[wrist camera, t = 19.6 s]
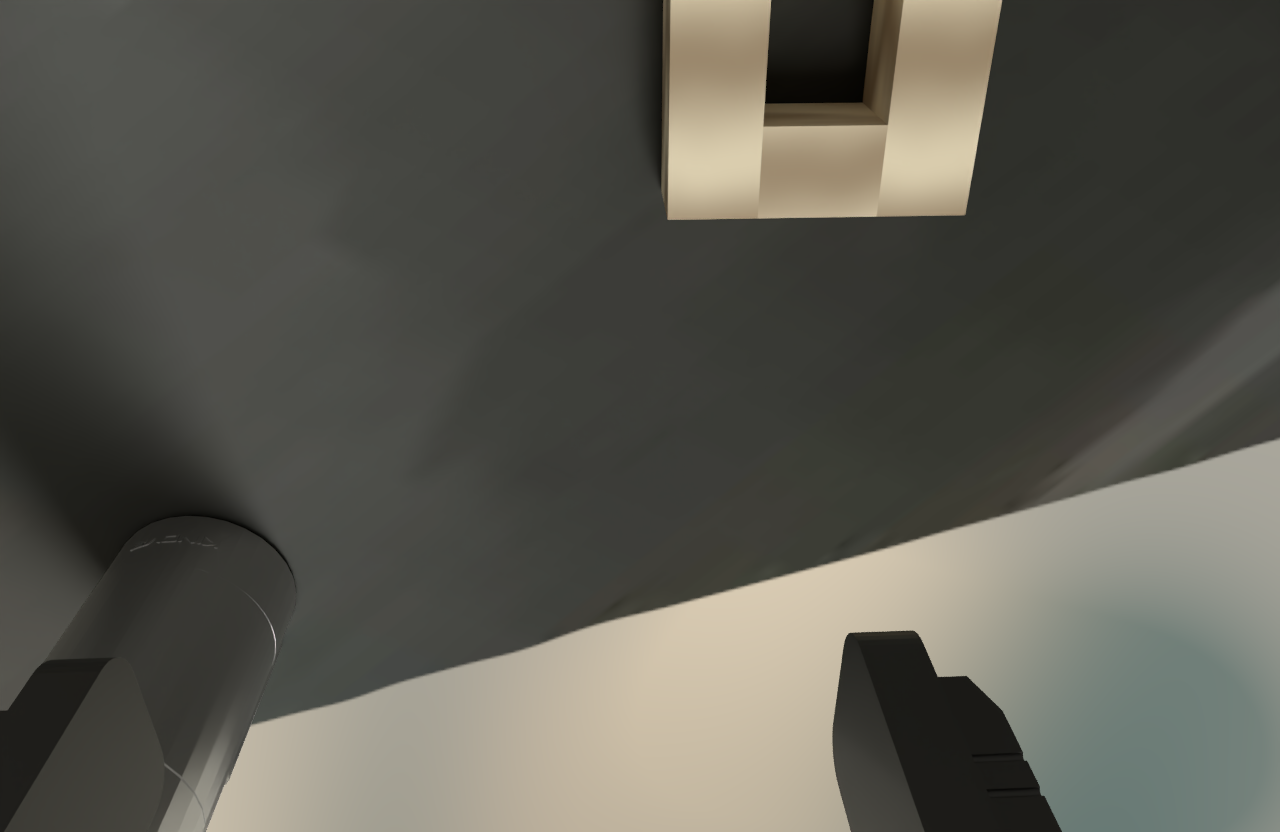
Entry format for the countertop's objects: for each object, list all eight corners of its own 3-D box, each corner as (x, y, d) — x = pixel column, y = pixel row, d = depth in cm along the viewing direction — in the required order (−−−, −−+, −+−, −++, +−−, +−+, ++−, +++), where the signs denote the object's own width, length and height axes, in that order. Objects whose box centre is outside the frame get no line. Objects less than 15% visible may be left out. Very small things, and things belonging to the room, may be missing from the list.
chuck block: (934, 186, 42) (964, 215, 39) (661, 190, 42) (667, 219, 38) (982, -129, 36) (1024, -128, 33) (664, -128, 36) (672, -127, 32)
